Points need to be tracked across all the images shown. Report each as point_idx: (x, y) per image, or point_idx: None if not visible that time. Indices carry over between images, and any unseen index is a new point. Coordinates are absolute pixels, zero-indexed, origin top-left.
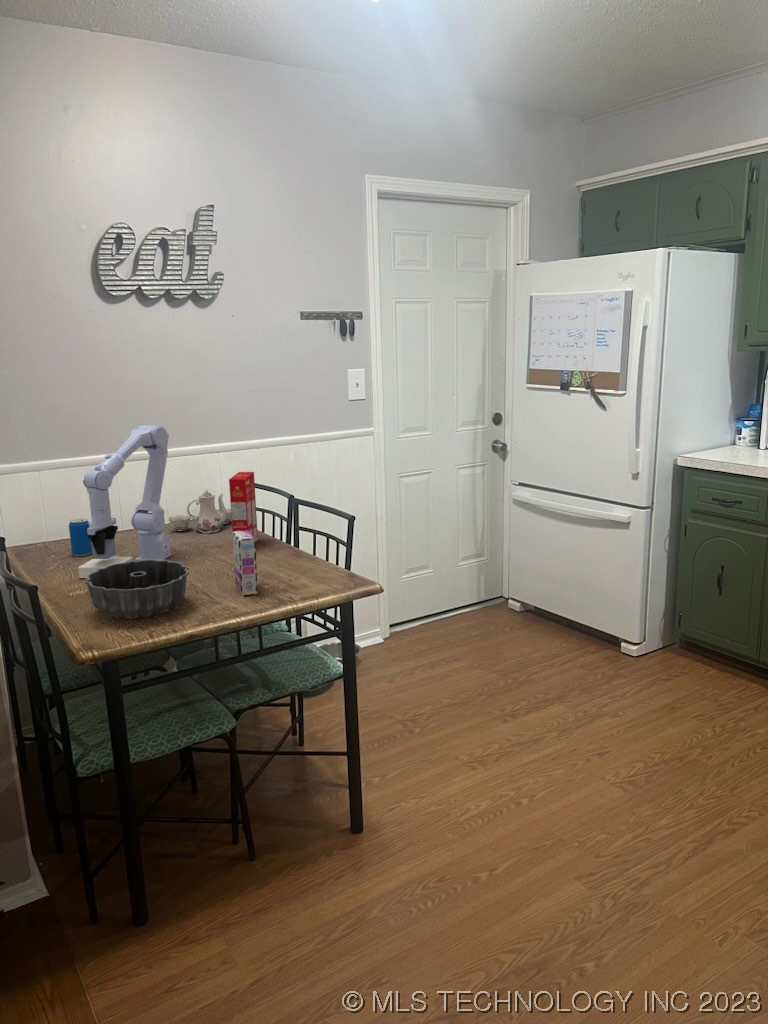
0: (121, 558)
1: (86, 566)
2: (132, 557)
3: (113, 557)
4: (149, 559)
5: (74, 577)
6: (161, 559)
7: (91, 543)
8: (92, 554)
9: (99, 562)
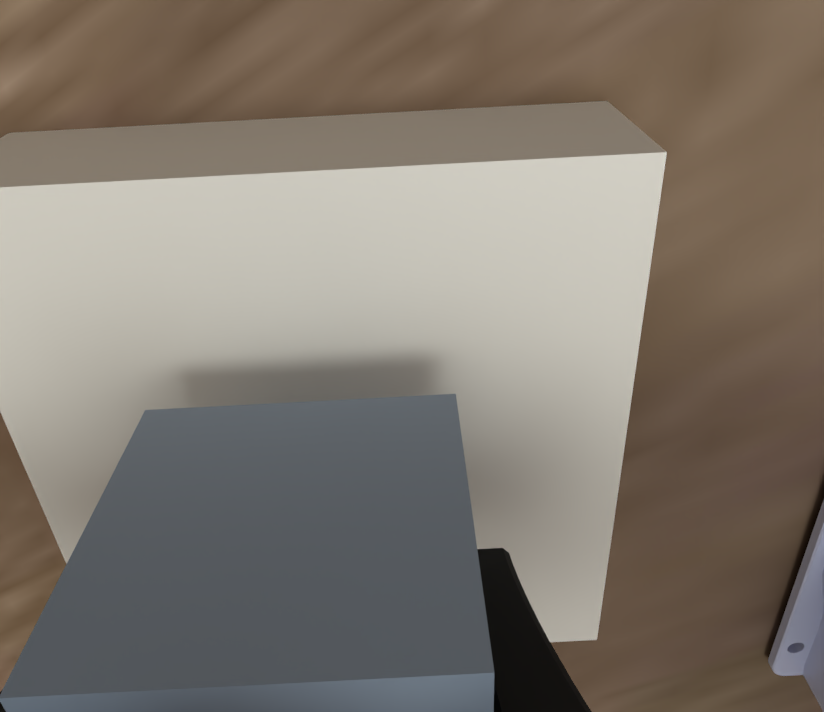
0: (528, 560)
1: (19, 312)
2: (584, 638)
3: (581, 448)
4: (818, 582)
5: (28, 13)
6: (793, 667)
7: (7, 697)
8: (118, 466)
9: (286, 391)
